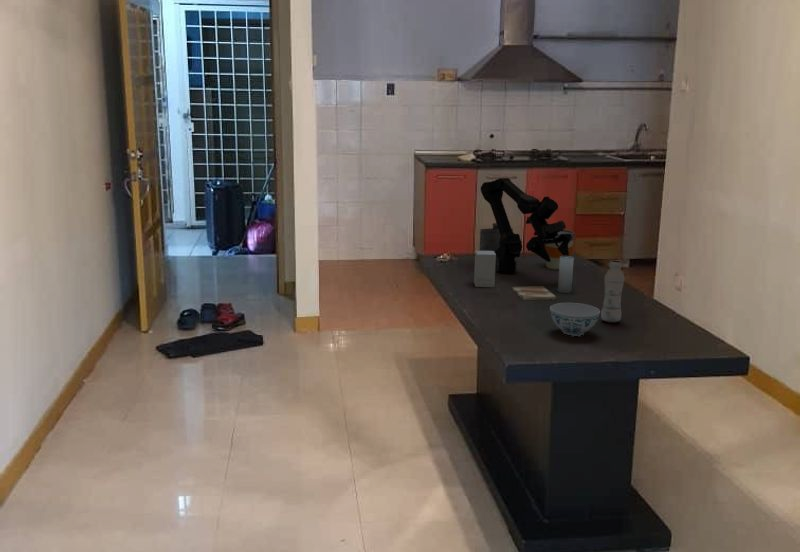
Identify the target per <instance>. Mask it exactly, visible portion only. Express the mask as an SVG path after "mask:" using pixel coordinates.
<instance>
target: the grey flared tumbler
mask: <svg viewBox="0 0 800 552" xmlns="http://www.w3.org/2000/svg"><path fill="white" fill-rule="evenodd" d="M574 261H575V257H574V256H560V264H559V270H558V278H557V279H558V281H557V293H560V294H561V293H563V294H570V293H572V287H573V274H574V272H573V271H574Z"/></svg>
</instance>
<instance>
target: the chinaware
mask: <svg viewBox="0 0 800 552" xmlns="http://www.w3.org/2000/svg"><path fill="white" fill-rule="evenodd" d="M549 313H550V315H551V319H552V321H553V323H554V324H555V326H556V327H557V328H558V329H560V330H561V333H562V332H563V333H564V334H568V335H572V336H571V337H574V336H578V337H582V336H581V335H583V336H584V335H585V332H588V331H589V330H591V329H592V328H593V327H594V326H595V325H596V323H597V322H598V320H599V317H600V315H601V310H600V309H599V308H598V307H596V306H593V305H590V304H586V303H577V302H559V303H554V304H552V305H550V306H549ZM563 333H562V334H563ZM564 334H563V335H564Z"/></svg>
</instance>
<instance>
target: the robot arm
mask: <svg viewBox="0 0 800 552" xmlns="http://www.w3.org/2000/svg"><path fill="white" fill-rule="evenodd" d="M480 192H481V195H482V197H483V199H484V200H485V201H486V202H487V203H488V204H489V205H490V208H491V210H492V214H493V217H494V220H495V223H497V226H498V229H499V232H500V235H501V237H500V241H499V244H500V247H499V248H498V249H497V250H496V252H495V253H496V257H498V258H499V266H498V270H497V273H499V274H509V275H514V274H515V273H516V272H517V267H518V261H517V258H520V256H521V253H522V249H523V244H522V243H523V241H522V240H521V236H520V234H519V233H515V232H514V230H513V231H512V229H513V228H512V226H511V223H510V221H509V218H508V215H507V212H506V209H505V207H504V203H503V200H502V199H503V195H504V193H505V194H506V195H507V196H509V198H511V199H512V200H513V201H514V202H515V203H516V205H517V208H518V210H519V211H520V213H521V214H523V215H529V214H530V216H526V217H527V218H526V220H525V225H528V224H530V225H531V227H532V228H533V231H534V233H533V235H534V236H531V238H530V239H529V240H528V241H527V242H526V244H525V245H526V246H525V247H526V249H527V251H528V252H531V253H534V254H536V255H537V256H539V257H540V258H542V259H543V260H544V261H545V262H546V261H547V262H550V261H551V260H550V257H549V255H548V253H547V251H546V249H545V245H546V244H554V243H555V245H556V246H557V247H558V248H557V249H558V250H559V251H560V252H561V254H562V255H563V256H569V252H568V243H569V242H570V241H571V239H572V236H571V234H570V233H564V234H561V235H560V236H559V237H558V238H555V236H557V235H558V232H560V231H564V230H566V228H567V227H566V223H565V222H564V220H559V221H556V222H553V223H549V222H548V221H547V220H549V219H550V218H551V217H552V216H553V215H554V214H555V213H556V211H557V210H558V209H559V204H558V203H557V201H555V200H554V199H552V198H550V196H544V197H543V198H542V199H541V201H540V200H539V199H538V198H537V197H535V196H533V195H530V194H528V193H525V192H524V191H523V190H522V189H520V188H519V186H517V185H516V184H515V183H514V182H513V181H512V180H511V179H510V178H508V177H500V178H498V179H495V180H491V181H486V182H485V181H484V182H483V183H482V184H481V186H480ZM511 228H512V229H511Z"/></svg>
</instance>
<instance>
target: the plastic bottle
mask: <svg viewBox="0 0 800 552" xmlns="http://www.w3.org/2000/svg"><path fill="white" fill-rule="evenodd" d="M608 268H609V269H608V270H607V271H606V272H605V274H604V277H603V279H604V281H603V282H604V283H603V284H604V296H603V302H602V308H601V310H600V317H601V319H602V321H604V322H607V323H618V322H619V321H620V320H621V319H622V308H621V307H622V292H623V288H624V283H625V278H626V277H625V275H624V272H623V270H622V269H621V268H622V261H620V260H613V259H612V260H610V261H609V265H608Z"/></svg>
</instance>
